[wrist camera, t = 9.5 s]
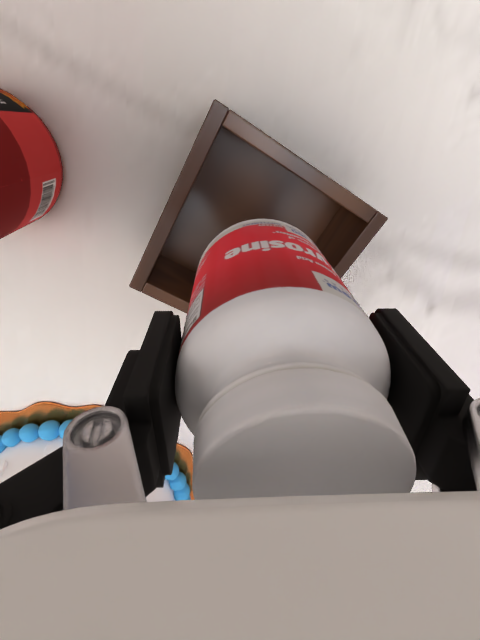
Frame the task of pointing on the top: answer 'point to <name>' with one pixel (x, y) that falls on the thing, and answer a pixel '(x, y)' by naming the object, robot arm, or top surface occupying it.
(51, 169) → the canned food
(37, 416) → the wedding cake
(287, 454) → the pill bottle
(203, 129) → the holder
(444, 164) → the top surface
